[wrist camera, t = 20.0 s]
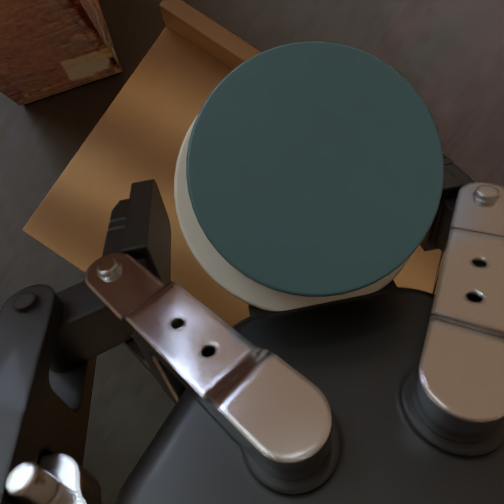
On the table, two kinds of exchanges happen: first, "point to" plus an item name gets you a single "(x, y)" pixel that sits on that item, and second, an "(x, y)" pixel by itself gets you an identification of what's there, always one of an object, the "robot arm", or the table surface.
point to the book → (52, 47)
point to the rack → (159, 156)
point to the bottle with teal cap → (308, 176)
